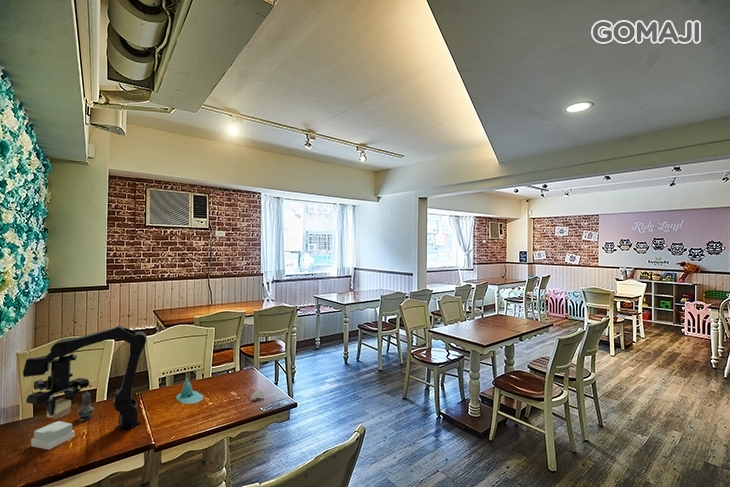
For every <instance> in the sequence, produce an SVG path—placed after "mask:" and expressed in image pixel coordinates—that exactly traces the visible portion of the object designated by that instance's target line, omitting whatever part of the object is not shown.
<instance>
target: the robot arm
mask: <svg viewBox="0 0 730 487" xmlns="http://www.w3.org/2000/svg"><path fill="white" fill-rule="evenodd" d="M114 338H118V339H120V340H122V341H124V343H128V344H129V358H128V361H127V366H126V370H125V374H124V377H123V381H122V386H121V387H120V389H116V390H115V395H114V398H113V403H112V406H114V410H115V411H117V412H119V416H118V425H116V426H115V429H119V430H125V431H129V430H131V429H133V428H134V427H136V426H137V425H139V424H141V423H142V422H141V421H140V420H138V419H139V418H138V417H139V416H138V415H139V413H138V412H139V410H138V400H136V399H135V398H133V385H134V381H135V376H136V372H137V368H138V364H139V359H140V356H141V354H142V352H143V350H144V348H145V346H146V343H147V333H145V332H144V331H135V330H134V329H130V328H127V327H124V326H122V325H117V326H114V327H112V328H108V329H104V330H101V331H97V332H95V333H94V332H93V333H91V334H87V335H83V336H79V337H77V336H76V337H75V336H74V337H73V336H72V337H66V338H62V339H59V340H57V341H55V343H54V344H53V345H52V346H51V348H50V352H49V353H47V354H46V356H40V357H27V358H26V359H25V364H24V367H23V369H22V375H23V378H27V377H28V378H29V377H36V376H37V377H38V376H45V375H46V373H47V372H49V371H50V375H48V377H47V379H46V380H43V379H38V380H35V381H33V389H34V390H39V391H37V392H34V393H30V394H29V395H28V396H27V397H26V404H31V405H41V404H43V405H44V407H45V409H46V412H47V411H48V413H49V415H50V416H52V415H53V413H54V408H55V403H56V401H57V398H54V395H55V396H56V395H57V394H60V393H63V394H64V399H67V400H71V404H72V403H73V401H74V399H75V398H76V397H77V395H78V394H79V392H81V391H82V389H84V388H87V387H89V386H90V380H89V379H88V378H82V377H78V378H75V379H72V380H71V377H73V375H74V374H73V373H71V365H72V364H71V362H72V361H76V360H77V358H78V356H77V355H76V354H74V353H73V352H76V351H78V350H79V349H81V348H83V347H88V346H90V345H93V344H94V345H95V344H97V343H101V342H105V341H108V340H111V339H114ZM43 390H46V391H43Z"/></svg>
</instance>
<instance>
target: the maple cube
mask: <svg viewBox="0 0 730 487" xmlns="http://www.w3.org/2000/svg"><path fill="white" fill-rule="evenodd" d="M71 411H72V403H71V400H67V399H65V398H60V399H56V403H55V408H54V413H53V415H52V416H50V415H49V413H48V411H47V410H46V417H47V418H51V419H54V420H57V419H60V418H62V417H64V416H66V415H69V414H70V413H71Z"/></svg>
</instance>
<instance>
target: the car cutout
mask: <svg viewBox="0 0 730 487" xmlns="http://www.w3.org/2000/svg"><path fill="white" fill-rule="evenodd" d="M260 397H263V398H265V393H264V392H262V390H256V391H254V393H252V394H251V397H250V399H251V400H252V399H253V400H256V399H255V398H260ZM260 399H261V398H260ZM253 400H252V401H253Z"/></svg>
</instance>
